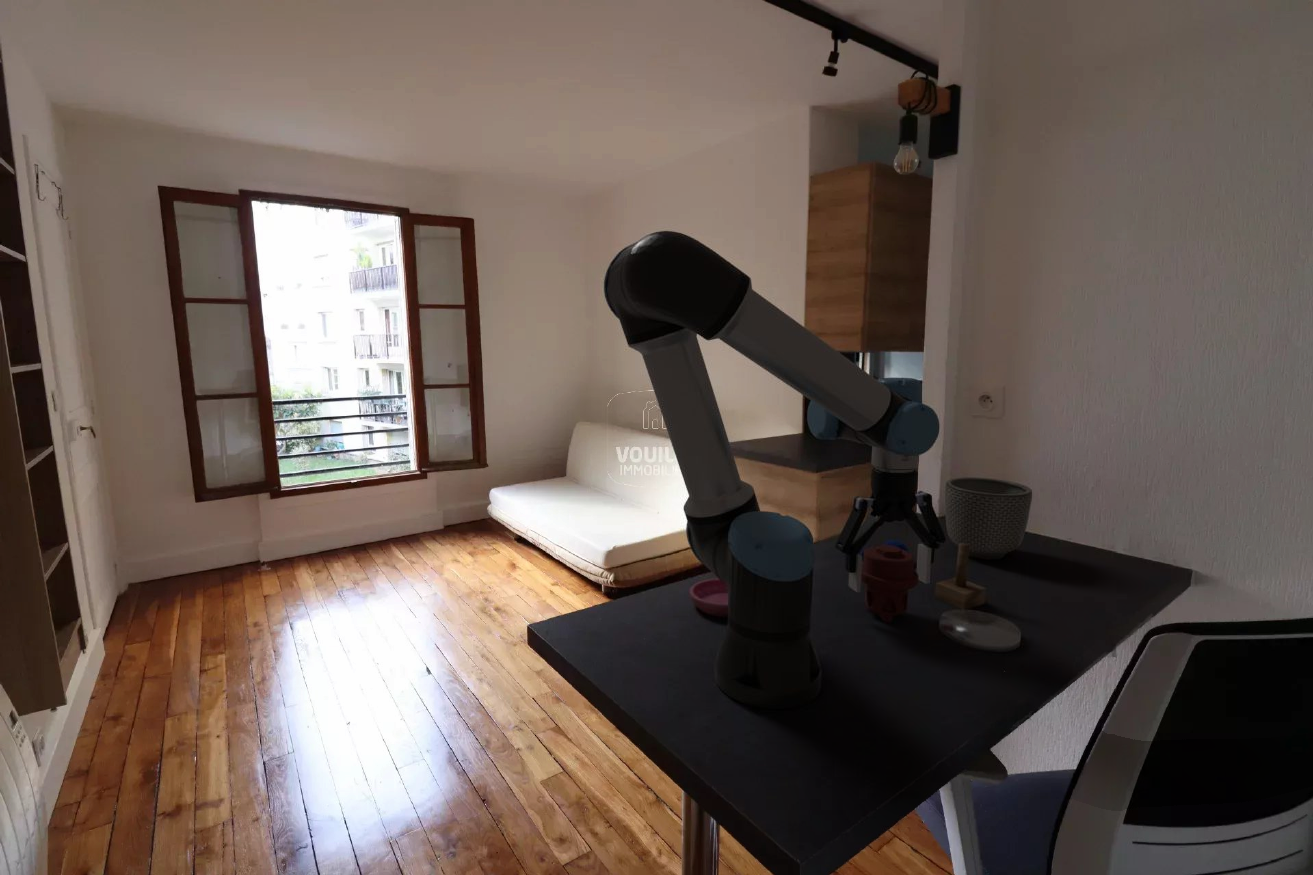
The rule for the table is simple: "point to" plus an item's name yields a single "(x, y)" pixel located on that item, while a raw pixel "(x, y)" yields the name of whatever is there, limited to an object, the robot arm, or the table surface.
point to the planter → (987, 515)
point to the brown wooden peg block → (960, 585)
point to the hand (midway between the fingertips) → (889, 585)
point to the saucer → (711, 597)
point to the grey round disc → (980, 630)
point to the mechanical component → (887, 580)
